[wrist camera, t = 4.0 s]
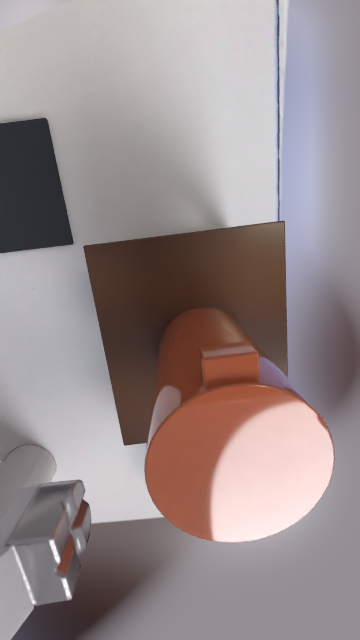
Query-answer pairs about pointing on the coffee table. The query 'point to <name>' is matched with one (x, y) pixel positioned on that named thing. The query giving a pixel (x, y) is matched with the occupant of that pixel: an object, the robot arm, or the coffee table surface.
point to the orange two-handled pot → (230, 435)
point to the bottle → (24, 471)
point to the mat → (30, 189)
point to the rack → (183, 301)
